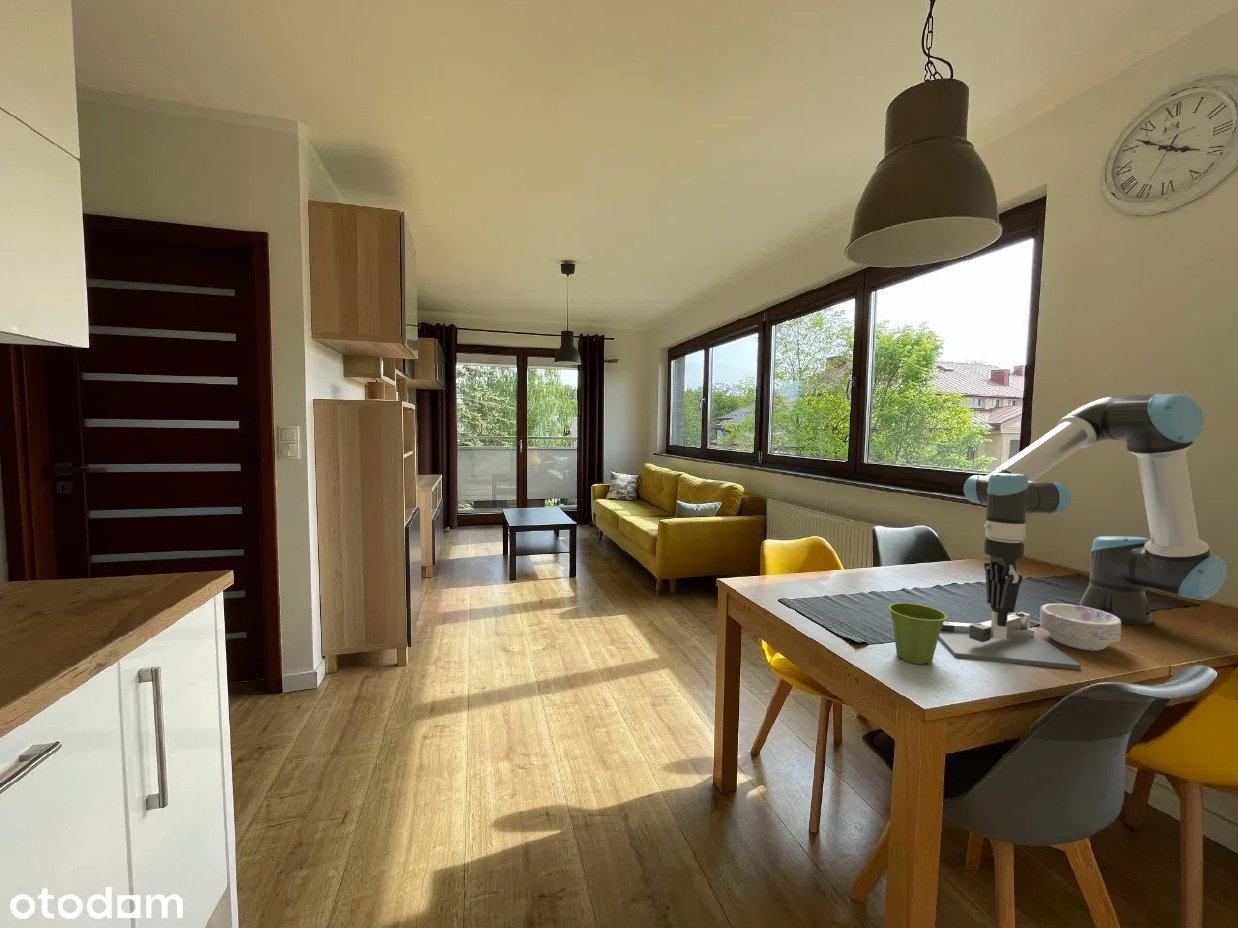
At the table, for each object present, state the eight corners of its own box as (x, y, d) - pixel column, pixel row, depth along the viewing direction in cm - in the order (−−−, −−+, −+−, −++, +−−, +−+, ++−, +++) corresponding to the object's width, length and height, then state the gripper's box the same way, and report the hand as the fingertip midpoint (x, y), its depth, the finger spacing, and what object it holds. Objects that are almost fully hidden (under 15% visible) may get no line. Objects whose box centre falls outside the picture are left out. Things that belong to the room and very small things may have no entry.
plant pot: (954, 672, 114) (957, 622, 114) (895, 667, 117) (898, 617, 116) (931, 649, 126) (934, 604, 125) (879, 645, 128) (881, 600, 127)
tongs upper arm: (1017, 622, 137) (1018, 609, 137) (1033, 627, 134) (1034, 613, 133) (967, 637, 127) (968, 622, 127) (983, 642, 124) (984, 627, 123)
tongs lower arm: (1027, 632, 135) (1028, 626, 135) (1034, 637, 132) (1035, 630, 132) (935, 626, 138) (935, 620, 138) (940, 630, 135) (940, 624, 135)
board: (1029, 633, 137) (1030, 629, 137) (1080, 669, 117) (1080, 665, 116) (924, 624, 143) (924, 620, 142) (955, 657, 122) (955, 652, 122)
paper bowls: (1024, 636, 135) (1027, 606, 135) (1060, 628, 141) (1063, 599, 140) (1096, 660, 121) (1099, 627, 121) (1133, 651, 127) (1136, 619, 126)
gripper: (974, 533, 130) (968, 626, 131) (999, 544, 117) (993, 646, 119) (1008, 535, 128) (1002, 629, 130) (1038, 546, 116) (1031, 650, 117)
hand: (998, 637), depth 124 cm, fingers closed
